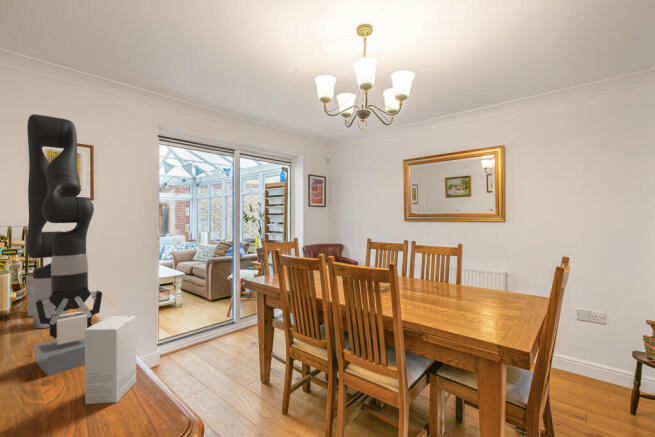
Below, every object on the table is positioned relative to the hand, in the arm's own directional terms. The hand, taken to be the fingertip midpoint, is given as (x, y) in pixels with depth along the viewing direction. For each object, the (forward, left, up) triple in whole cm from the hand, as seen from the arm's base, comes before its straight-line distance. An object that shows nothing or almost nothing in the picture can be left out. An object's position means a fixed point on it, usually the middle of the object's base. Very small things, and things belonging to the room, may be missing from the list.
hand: (71, 333), depth 83 cm
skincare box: (+27, +4, -7) cm, 28 cm away
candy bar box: (-62, -1, -7) cm, 62 cm away
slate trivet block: (0, 0, -7) cm, 7 cm away
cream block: (0, 0, -1) cm, 1 cm away
